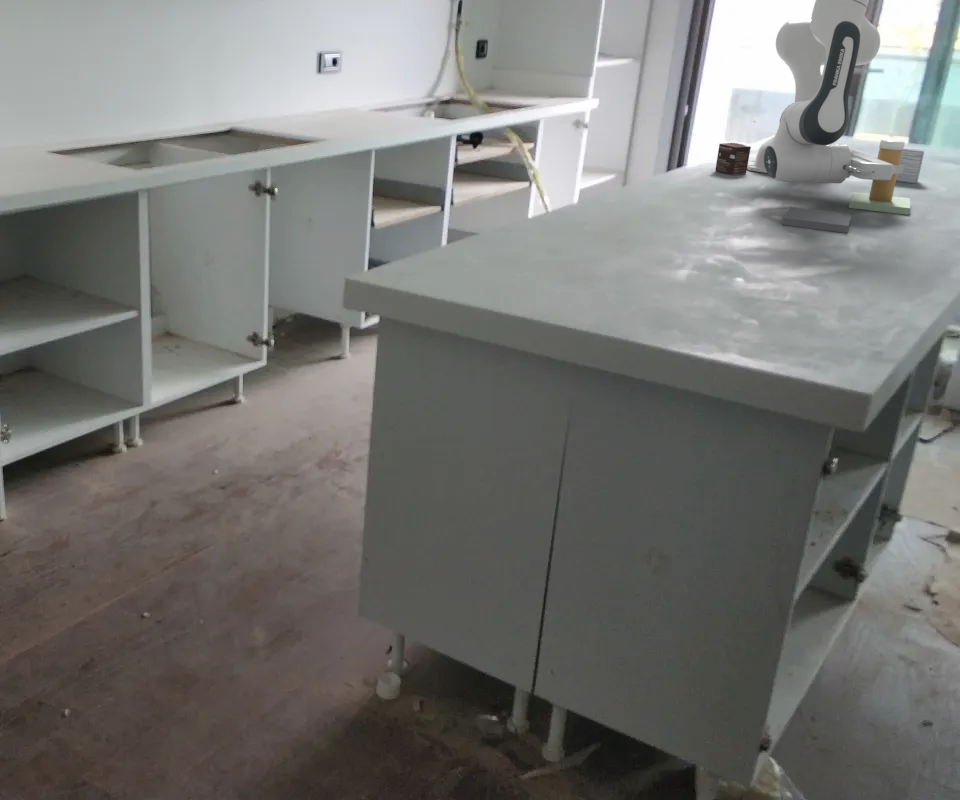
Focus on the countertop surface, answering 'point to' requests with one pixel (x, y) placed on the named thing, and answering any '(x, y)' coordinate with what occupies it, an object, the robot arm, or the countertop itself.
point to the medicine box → (910, 164)
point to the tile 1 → (817, 219)
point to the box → (732, 158)
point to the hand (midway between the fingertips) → (891, 165)
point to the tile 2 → (880, 204)
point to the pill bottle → (884, 189)
